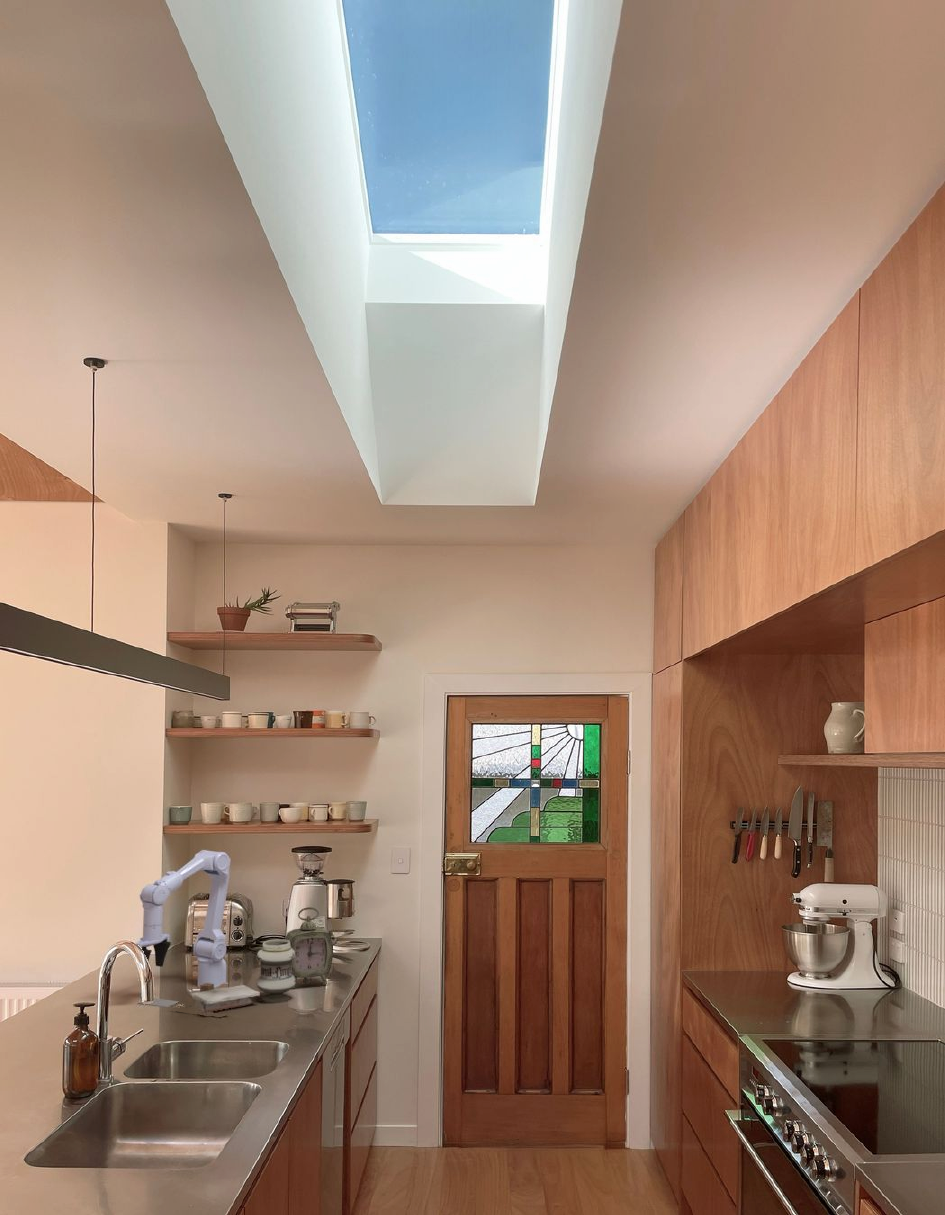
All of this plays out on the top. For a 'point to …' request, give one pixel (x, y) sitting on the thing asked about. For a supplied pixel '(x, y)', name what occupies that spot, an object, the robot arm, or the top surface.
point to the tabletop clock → (310, 949)
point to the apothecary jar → (276, 970)
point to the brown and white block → (206, 987)
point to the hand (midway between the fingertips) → (151, 969)
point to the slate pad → (160, 1002)
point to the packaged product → (223, 998)
